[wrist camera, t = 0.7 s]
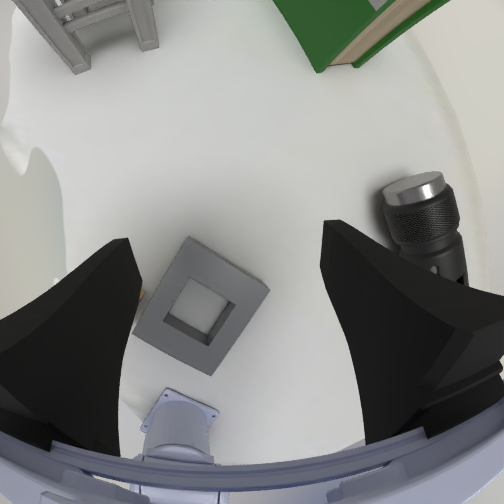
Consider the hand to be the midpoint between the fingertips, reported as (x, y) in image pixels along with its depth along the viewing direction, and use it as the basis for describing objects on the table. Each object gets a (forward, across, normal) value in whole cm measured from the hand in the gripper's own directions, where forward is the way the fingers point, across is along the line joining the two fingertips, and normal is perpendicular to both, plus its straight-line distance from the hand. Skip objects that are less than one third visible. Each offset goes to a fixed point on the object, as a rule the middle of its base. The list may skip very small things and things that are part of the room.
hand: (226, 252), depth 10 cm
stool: (+30, +14, -17) cm, 37 cm away
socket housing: (+15, +5, +16) cm, 23 cm away
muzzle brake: (+18, -24, +19) cm, 36 cm away
